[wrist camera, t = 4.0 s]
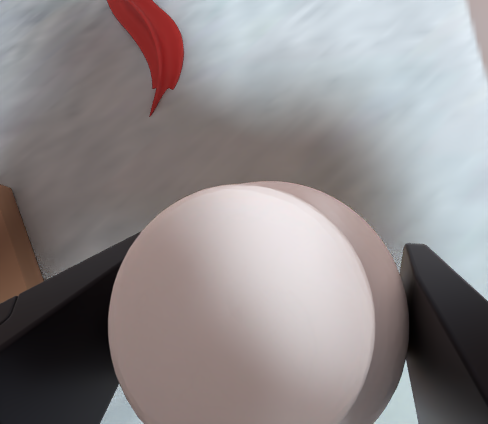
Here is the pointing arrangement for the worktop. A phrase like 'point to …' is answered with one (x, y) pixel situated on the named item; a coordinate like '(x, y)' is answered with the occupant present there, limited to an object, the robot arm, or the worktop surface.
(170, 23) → the cayenne pepper
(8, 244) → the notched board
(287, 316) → the supplement bottle
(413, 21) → the worktop surface
